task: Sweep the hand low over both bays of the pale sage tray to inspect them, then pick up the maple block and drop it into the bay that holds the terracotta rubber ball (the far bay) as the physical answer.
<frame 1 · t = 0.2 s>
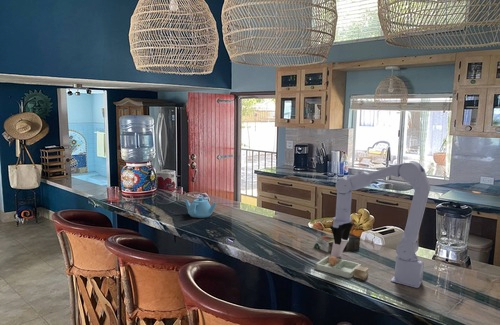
hand: (341, 241, 156), 10 cm above the worktop, fingers open, 7 cm apart
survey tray: (338, 270, 151), on the worktop
juice carton: (336, 249, 179), on the worktop
teapot: (200, 215, 229), on the worktop
maple block: (360, 278, 144), on the worktop
smoothie: (335, 256, 166), on the worktop
terracotta ball: (332, 265, 155), point 1 cm above the worktop, touching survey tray
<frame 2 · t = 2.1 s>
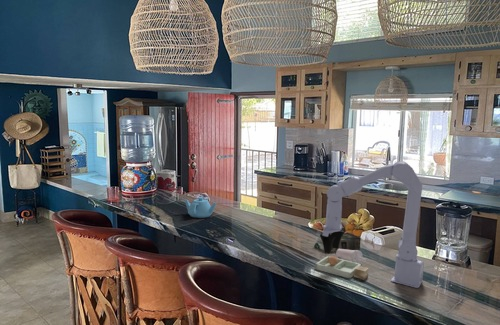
hand: (331, 250, 152), 7 cm above the worktop, fingers open, 7 cm apart
smoothie: (338, 252, 164), point 3 cm above the worktop
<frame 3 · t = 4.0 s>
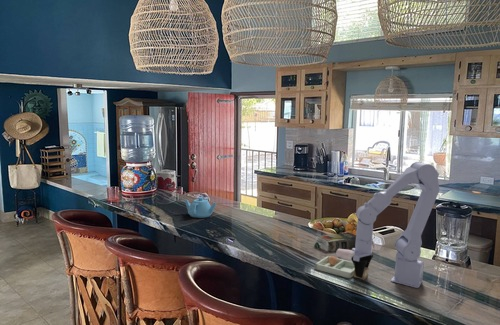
hand: (361, 274, 144), 1 cm above the worktop, fingers closed on maple block, 4 cm apart
maple block: (360, 278, 144), on the worktop, touching gripper
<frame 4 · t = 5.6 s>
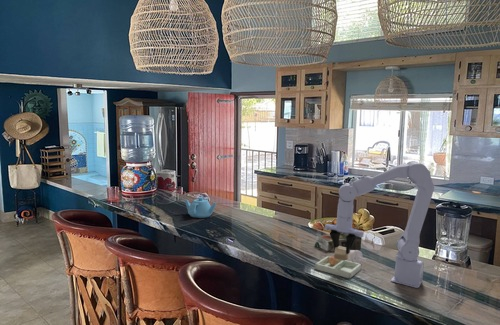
hand: (341, 251, 147), 9 cm above the worktop, fingers closed on maple block, 4 cm apart
maple block: (341, 258, 147), point 6 cm above the worktop, touching gripper
when the fingers open (4 cm above the worktop, at t = 7.2 s): maple block stays where it is, resting on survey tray.
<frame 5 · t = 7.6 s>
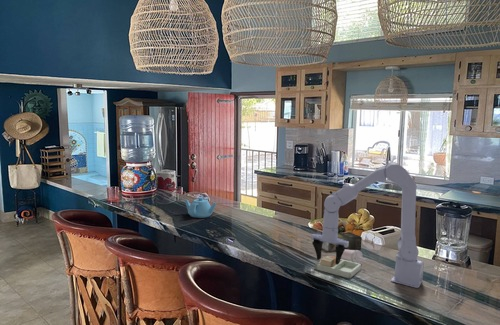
hand: (328, 261, 150), 4 cm above the worktop, fingers open, 7 cm apart
maple block: (326, 269, 150), point 1 cm above the worktop, touching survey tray
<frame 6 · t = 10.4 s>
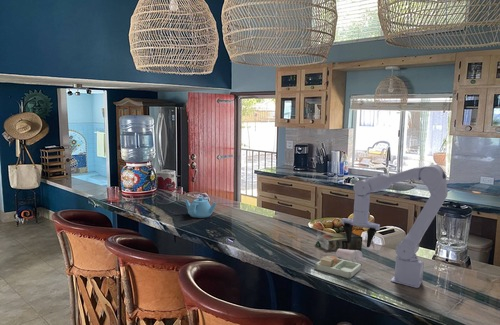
hand: (358, 244, 153), 10 cm above the worktop, fingers open, 7 cm apart
at the end: maple block inside the target area on the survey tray (3.1 cm from its centre), point 0.8 cm above the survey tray's base; the gripper is holding nothing; terracotta ball inside the target area on the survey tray (2.5 cm from its centre), point 0.8 cm above the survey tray's base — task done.
